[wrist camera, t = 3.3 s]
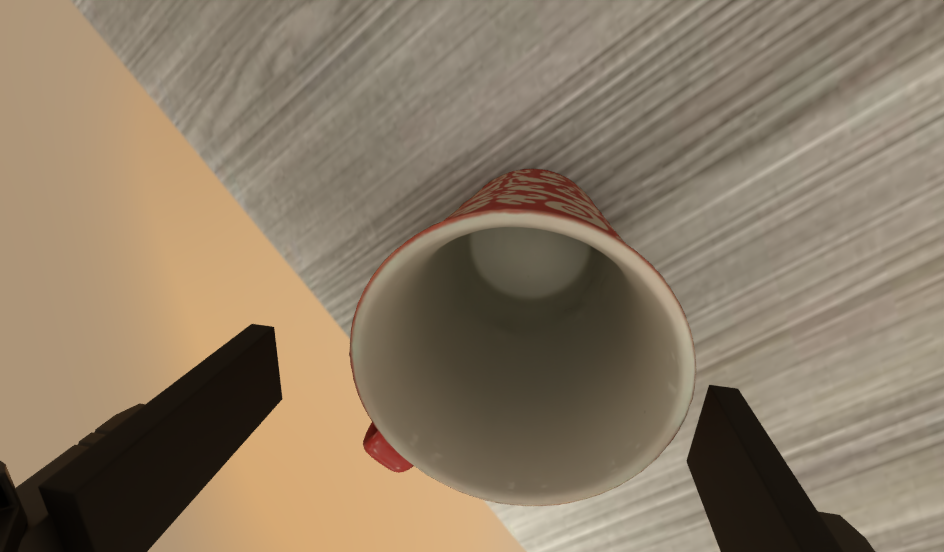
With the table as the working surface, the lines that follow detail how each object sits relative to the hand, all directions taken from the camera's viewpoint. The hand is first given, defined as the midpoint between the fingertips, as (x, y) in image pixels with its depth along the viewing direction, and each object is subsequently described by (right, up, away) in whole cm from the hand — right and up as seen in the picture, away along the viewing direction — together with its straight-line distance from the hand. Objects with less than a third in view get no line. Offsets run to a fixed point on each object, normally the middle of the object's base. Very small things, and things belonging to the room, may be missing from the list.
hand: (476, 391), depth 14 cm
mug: (+2, +5, +11) cm, 12 cm away
